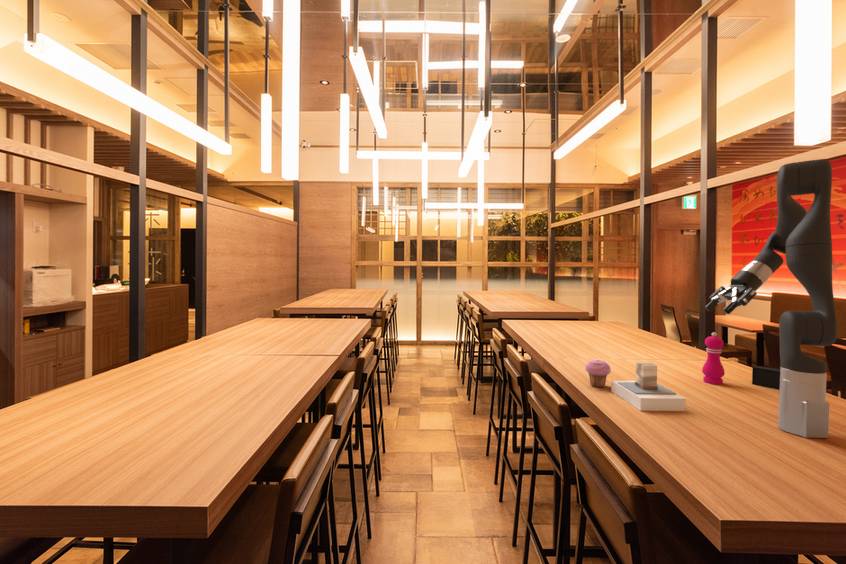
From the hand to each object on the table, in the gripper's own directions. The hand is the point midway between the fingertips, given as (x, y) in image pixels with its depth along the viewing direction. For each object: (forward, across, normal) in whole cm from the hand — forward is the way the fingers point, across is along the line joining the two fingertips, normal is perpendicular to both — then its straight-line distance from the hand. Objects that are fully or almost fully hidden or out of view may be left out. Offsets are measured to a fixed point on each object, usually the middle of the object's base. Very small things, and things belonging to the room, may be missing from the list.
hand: (716, 310), depth 135 cm
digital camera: (-2, -17, +46) cm, 49 cm away
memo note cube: (+35, +1, +2) cm, 35 cm away
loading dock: (+38, +1, +5) cm, 39 cm away
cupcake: (+45, -16, -1) cm, 48 cm away
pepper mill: (+11, -22, +33) cm, 41 cm away
